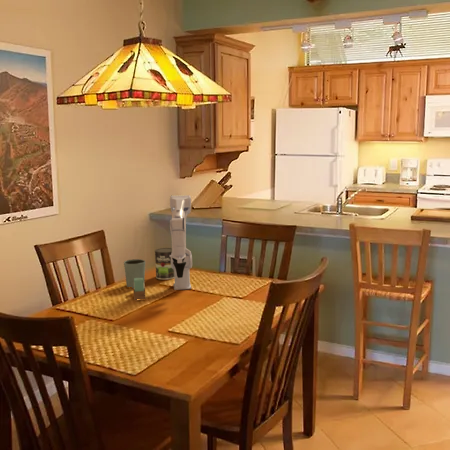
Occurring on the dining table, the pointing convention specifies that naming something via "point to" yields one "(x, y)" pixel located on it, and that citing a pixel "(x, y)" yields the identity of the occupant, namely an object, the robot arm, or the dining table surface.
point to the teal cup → (134, 271)
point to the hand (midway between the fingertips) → (179, 275)
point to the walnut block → (139, 294)
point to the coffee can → (163, 264)
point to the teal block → (138, 284)
